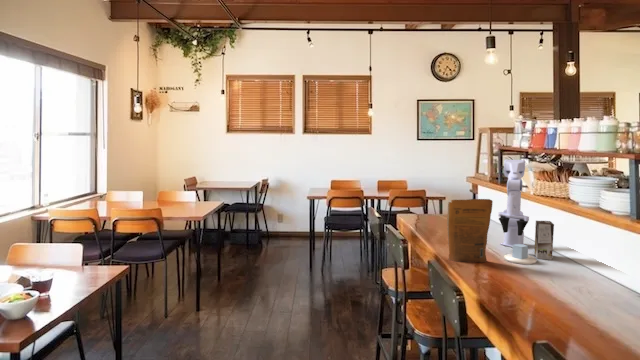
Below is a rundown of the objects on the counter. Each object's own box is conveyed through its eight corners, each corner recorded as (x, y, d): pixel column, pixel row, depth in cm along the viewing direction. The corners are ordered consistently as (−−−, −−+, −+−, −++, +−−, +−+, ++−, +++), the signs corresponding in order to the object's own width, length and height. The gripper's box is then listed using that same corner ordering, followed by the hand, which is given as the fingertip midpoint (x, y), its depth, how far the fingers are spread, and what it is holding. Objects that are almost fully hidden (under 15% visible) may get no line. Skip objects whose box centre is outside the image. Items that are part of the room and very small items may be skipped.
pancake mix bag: (492, 264, 181) (494, 200, 178) (446, 262, 184) (448, 199, 182) (488, 259, 188) (490, 197, 185) (444, 258, 191) (446, 197, 188)
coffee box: (552, 260, 187) (554, 224, 186) (536, 258, 189) (538, 223, 188) (549, 254, 196) (550, 220, 194) (533, 253, 198) (535, 219, 196)
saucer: (515, 254, 196) (516, 252, 196) (542, 261, 185) (542, 258, 185) (497, 258, 189) (498, 256, 189) (524, 266, 178) (524, 263, 178)
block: (518, 255, 190) (518, 243, 190) (527, 258, 186) (528, 245, 186) (512, 257, 188) (512, 245, 187) (521, 259, 184) (521, 247, 183)
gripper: (494, 203, 200) (493, 231, 202) (522, 208, 188) (521, 237, 189) (504, 202, 204) (503, 230, 205) (532, 206, 192) (531, 236, 193)
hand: (512, 233), depth 197 cm, fingers open, 7 cm apart
